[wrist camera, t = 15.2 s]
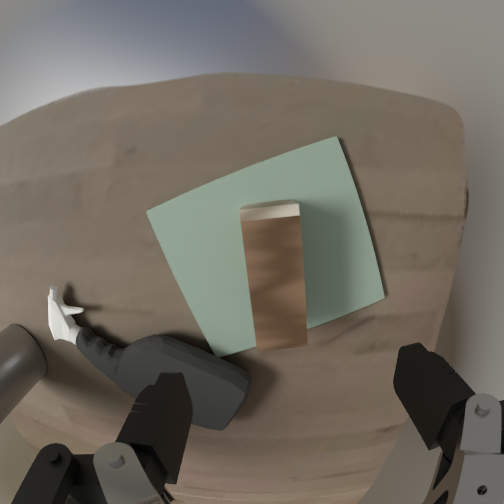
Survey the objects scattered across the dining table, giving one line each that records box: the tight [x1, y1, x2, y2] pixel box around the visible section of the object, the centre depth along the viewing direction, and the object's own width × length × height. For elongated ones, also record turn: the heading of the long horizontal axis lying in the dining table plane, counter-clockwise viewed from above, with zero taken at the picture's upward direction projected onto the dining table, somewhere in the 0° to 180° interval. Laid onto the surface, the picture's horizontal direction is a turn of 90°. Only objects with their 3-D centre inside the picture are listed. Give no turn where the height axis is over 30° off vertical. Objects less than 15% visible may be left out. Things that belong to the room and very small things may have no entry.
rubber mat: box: [146, 136, 385, 357], centre depth 25 cm, size 18×16×1 cm
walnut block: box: [239, 199, 308, 351], centre depth 22 cm, size 4×5×11 cm
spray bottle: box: [48, 285, 251, 430], centre depth 27 cm, size 3×11×25 cm
